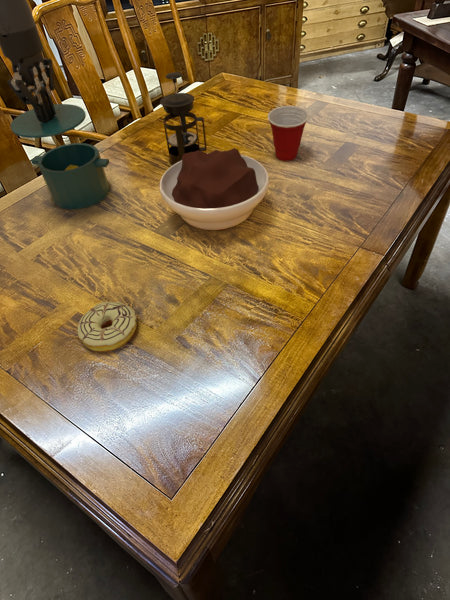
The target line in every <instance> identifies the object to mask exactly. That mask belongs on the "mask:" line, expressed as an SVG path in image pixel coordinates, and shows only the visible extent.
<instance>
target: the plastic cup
mask: <svg viewBox="0 0 450 600" xmlns="http://www.w3.org/2000/svg"><path fill="white" fill-rule="evenodd" d="M309 118H310V115H309V112H308V111H307V110H306V109H305V108H302V107H301V106H296V105H282V106H278V107H275V108H273V109H271V110H270V111H269V112H268V114H267V120H268V122H269V124H270V128H271V133H272V141H273V147H274V152H275V156H276V159H277V160H279V161H282V162H290V161H293V160H296V158H297V156H298V153H299V148H300V146H301V142H302V139H303V133H304V130H305V127H306V124H307V122H308V120H309Z"/></svg>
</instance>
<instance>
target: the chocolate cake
mask: <svg viewBox="0 0 450 600" xmlns="http://www.w3.org/2000/svg"><path fill="white" fill-rule="evenodd" d="M158 186H159V187H158V189H159V195H160V197H161V200H162V201H163V202H164V203H165V205H166V206H167V207H168V208H169V209H171V210H172V211H173V212H174V213H176V214H177V215H179V216H180V217H181V219H182V220H183V221H184V222H185V223H187V224H188V225H190V226H192V227H194V228H197V229H200V230H207V231H218V230H219V231H220V230H226V229H230V228H233V227H236V226H237V225H239V224H241V223H244V222H245V221H246V220H247V219H248V218H249V217H250V216H251V214H252V213H253V211H254V210H255V208H256V207H257V206H258V205H259V204H260V203H261V202H262V200H263V199H264V198H265V196H266V194H267V192H268V190H269V187H270V175H269V172H268V170H267V169H266V167H265V166H264V165H263V164H262V163H261V162H259V161H258V160H256V159H254V158H252V157H250V156H248V155H246V154H245V155H244V154H241V153H240V150H239V149H237V148H235V147H233V148H230V149H229V150H224V151H220V150H217V149H215V150H213V151H211V152H206V151H195V152H189V153H185V154H183V156H182V160H181V161H179V162H177V163H176V164H174V165H173V166H172V165H171V166H170V167H168V169H166V170H165V172H164V173H163V174H162V176H161V178H160V181H159V185H158Z"/></svg>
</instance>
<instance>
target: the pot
mask: <svg viewBox="0 0 450 600" xmlns="http://www.w3.org/2000/svg"><path fill="white" fill-rule="evenodd" d="M30 162H31V164H32V165H37V166H38V169H39V171H40V174H41V176H42V179H43V180H44V183H45V186H46V188H47V190H48V192H49V195H50V197H51V200H52V201H53V203H54V204H55V206H57V207H59V208H60V209H65V210H82V209H85V208H89V207H93V206H94V205H96V204H98V203H100V202H102V201H103V200H104V199H105V198H106V197H107V196H108V194H109V192H110V185H109V182H108V181H109V180H108V177H107V174H106V172H105V171H106V170H105V168H107V167H108V166H109V164H110V159H109V158H101V154H100V151H99V149H98V147H96V146H95V145H92V144H89V143H87V142H85V143H83V142H73V143H68V144H67V143H66V144H62V145H59V146H56V147H53V148H51V149H50V150H48V151H45V152H44V153H43V154H42V155H35V156H34V157H33V158H32V159H31V160H30ZM69 165H75V166H78V167H77V168H75V169H71V170H65V169H66V168H67V167H68V166H69Z"/></svg>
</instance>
